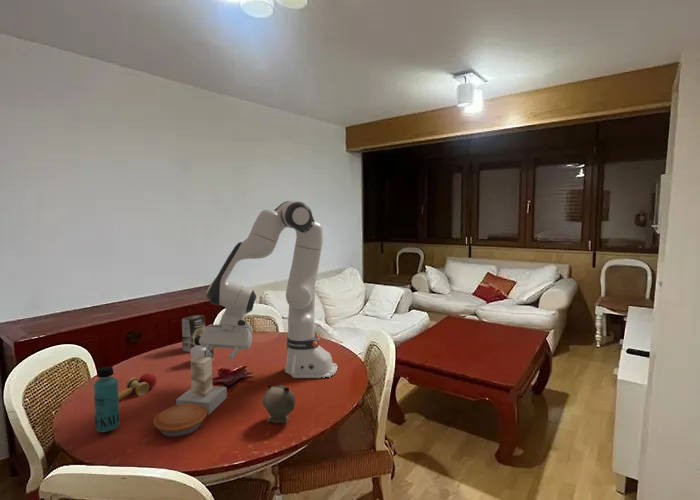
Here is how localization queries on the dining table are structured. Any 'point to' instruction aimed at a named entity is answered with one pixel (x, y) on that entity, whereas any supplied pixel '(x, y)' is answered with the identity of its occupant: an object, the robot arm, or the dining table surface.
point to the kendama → (139, 385)
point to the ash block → (201, 376)
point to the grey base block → (205, 398)
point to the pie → (180, 419)
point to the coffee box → (192, 330)
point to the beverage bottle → (106, 400)
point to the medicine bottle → (199, 350)
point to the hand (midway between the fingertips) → (219, 357)
